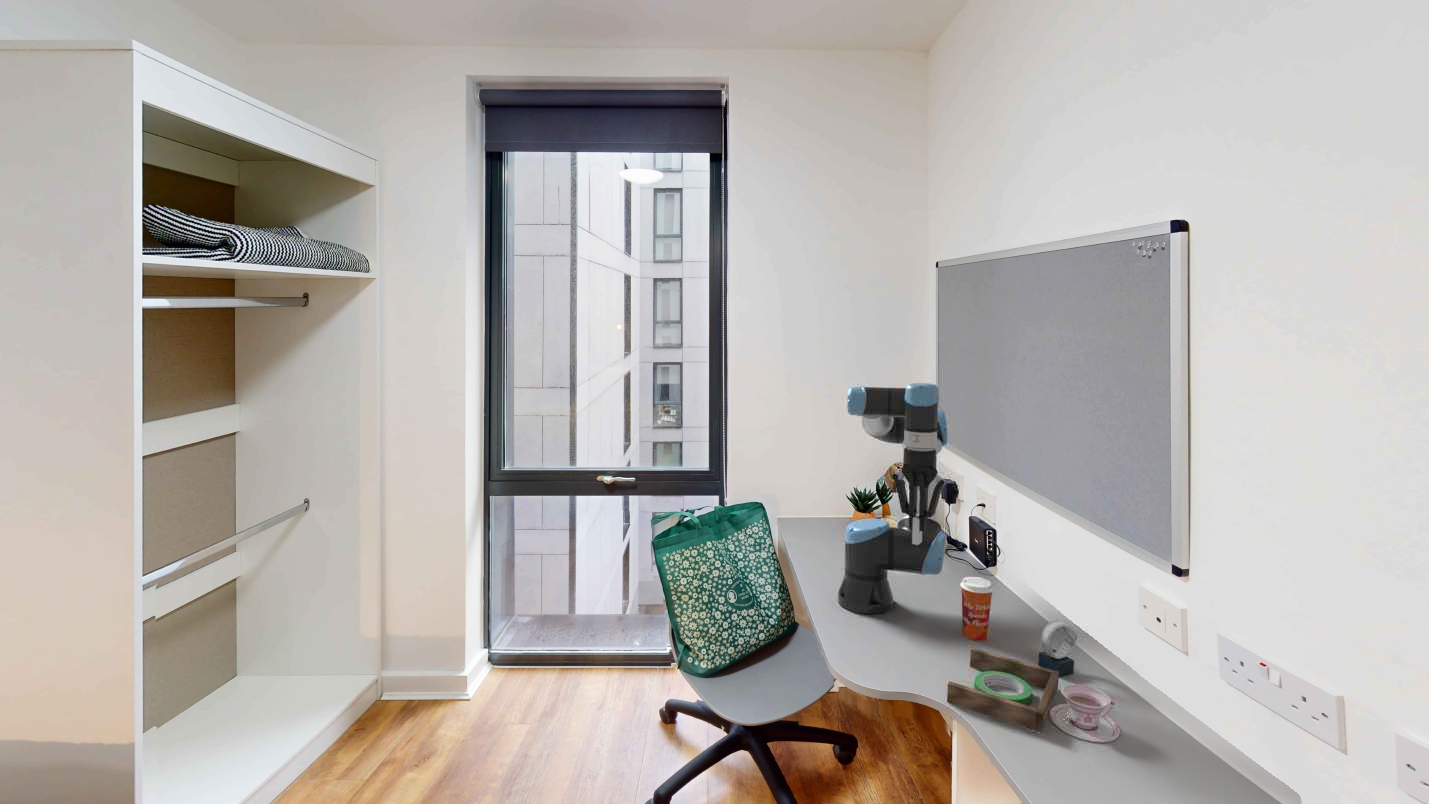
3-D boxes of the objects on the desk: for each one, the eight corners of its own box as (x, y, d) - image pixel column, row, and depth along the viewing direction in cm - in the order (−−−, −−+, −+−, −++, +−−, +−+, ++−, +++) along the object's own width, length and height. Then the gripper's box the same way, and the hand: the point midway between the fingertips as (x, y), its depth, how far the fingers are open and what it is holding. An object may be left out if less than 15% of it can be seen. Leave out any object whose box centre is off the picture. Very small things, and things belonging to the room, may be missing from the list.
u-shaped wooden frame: (947, 701, 133) (947, 683, 132) (971, 664, 147) (972, 647, 147) (1041, 733, 122) (1042, 713, 122) (1057, 689, 137) (1058, 671, 136)
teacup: (1056, 737, 121) (1058, 707, 120) (1043, 702, 133) (1045, 673, 132) (1129, 749, 118) (1131, 717, 117) (1109, 711, 129) (1111, 682, 129)
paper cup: (960, 640, 158) (962, 586, 156) (956, 626, 166) (958, 574, 164) (994, 644, 156) (997, 589, 155) (989, 630, 164) (991, 577, 162)
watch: (1080, 672, 144) (1083, 625, 142) (1052, 679, 141) (1055, 631, 140) (1058, 660, 149) (1061, 614, 148) (1032, 666, 146) (1034, 620, 145)
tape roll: (997, 676, 143) (997, 665, 142) (1043, 702, 133) (1044, 689, 133) (962, 690, 137) (963, 678, 137) (1007, 717, 128) (1008, 705, 127)
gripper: (887, 447, 155) (885, 541, 158) (942, 453, 147) (939, 552, 150) (899, 442, 161) (896, 533, 164) (952, 448, 153) (948, 543, 156)
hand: (917, 542), depth 157 cm, fingers closed
